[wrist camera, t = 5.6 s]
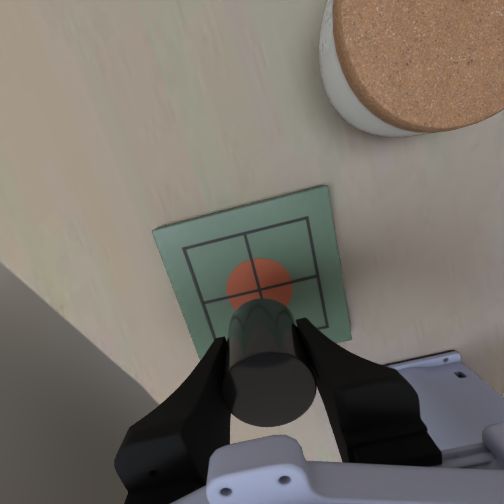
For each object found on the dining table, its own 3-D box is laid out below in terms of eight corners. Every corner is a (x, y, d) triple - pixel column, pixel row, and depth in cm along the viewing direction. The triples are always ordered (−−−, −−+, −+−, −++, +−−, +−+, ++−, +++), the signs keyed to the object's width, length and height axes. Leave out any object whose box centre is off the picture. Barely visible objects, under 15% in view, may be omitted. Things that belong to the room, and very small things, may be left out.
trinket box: (299, 152, 19) (347, 128, 10) (300, -23, 16) (370, -282, 7) (436, 146, 19) (605, 115, 10) (463, -30, 16) (738, -298, 7)
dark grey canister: (288, 290, 15) (307, 341, 10) (301, 348, 17) (324, 417, 12) (220, 306, 16) (209, 363, 11) (238, 362, 17) (235, 435, 12)
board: (322, 184, 20) (328, 185, 18) (345, 330, 24) (352, 340, 22) (157, 227, 20) (150, 231, 19) (207, 361, 24) (204, 373, 23)
